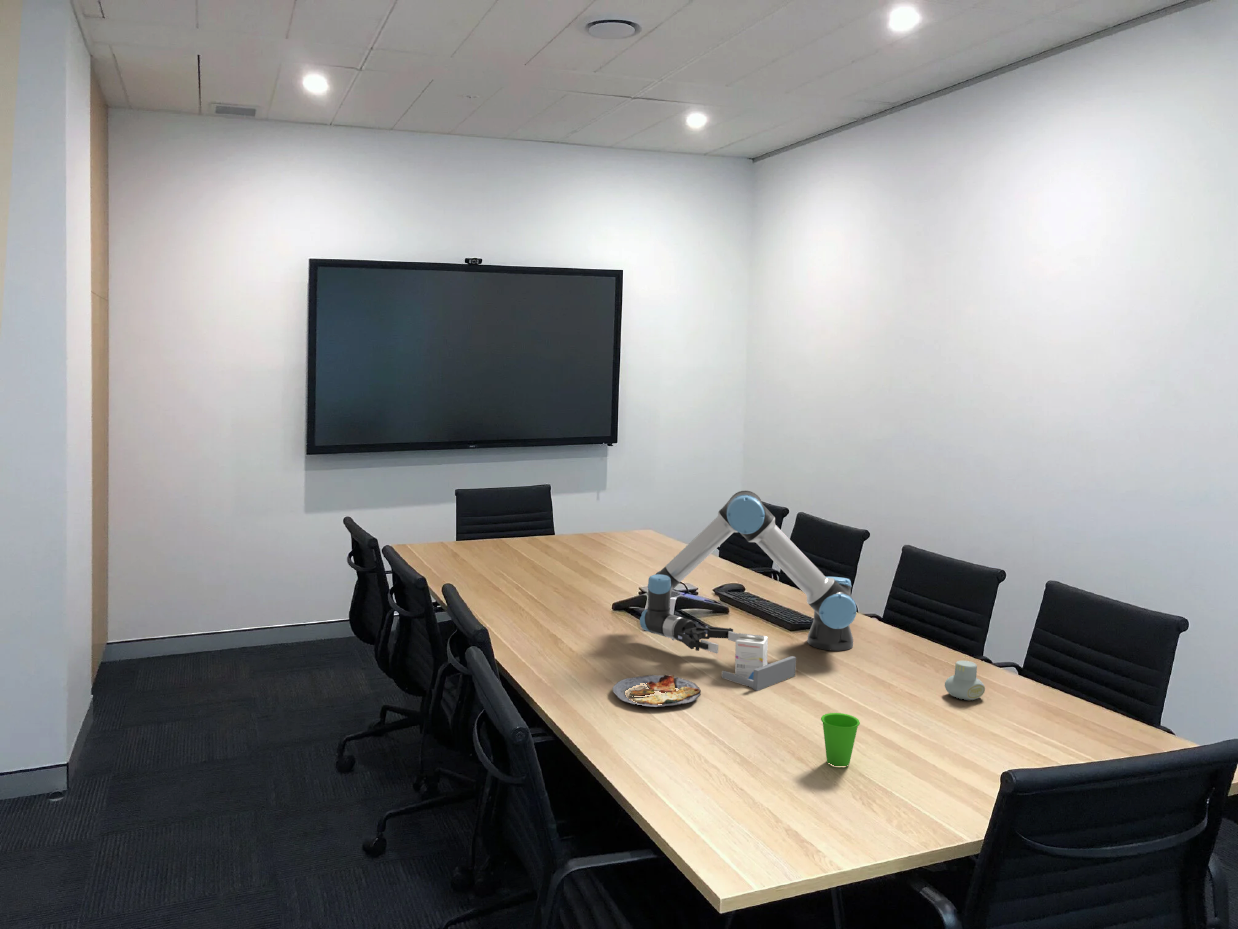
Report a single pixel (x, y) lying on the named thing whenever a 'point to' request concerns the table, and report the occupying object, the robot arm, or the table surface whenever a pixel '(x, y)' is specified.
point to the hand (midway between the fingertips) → (731, 644)
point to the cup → (839, 737)
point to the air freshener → (965, 682)
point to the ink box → (750, 654)
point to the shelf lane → (766, 674)
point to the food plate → (658, 683)
